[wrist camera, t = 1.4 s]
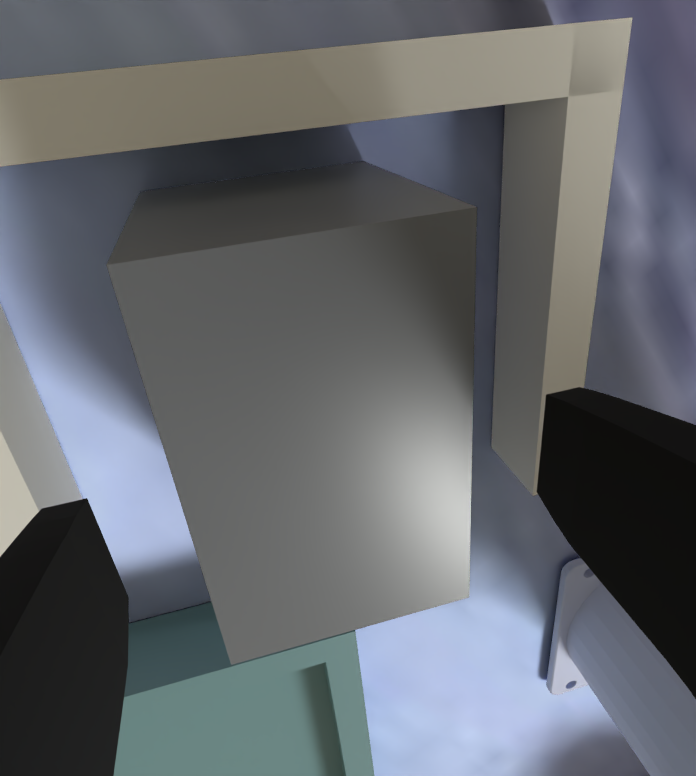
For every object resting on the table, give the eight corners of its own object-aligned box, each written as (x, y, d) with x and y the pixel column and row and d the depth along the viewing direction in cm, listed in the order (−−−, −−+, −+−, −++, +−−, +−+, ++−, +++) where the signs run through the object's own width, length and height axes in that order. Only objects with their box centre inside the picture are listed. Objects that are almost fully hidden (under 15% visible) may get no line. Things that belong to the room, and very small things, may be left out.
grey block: (362, 160, 13) (477, 206, 8) (385, 474, 17) (468, 634, 12) (140, 190, 12) (106, 264, 7) (225, 512, 17) (242, 701, 11)
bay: (556, 29, 13) (632, 17, 10) (525, 439, 18) (571, 486, 16) (-162, 101, 10) (-255, 104, 8) (55, 550, 16) (34, 623, 13)
